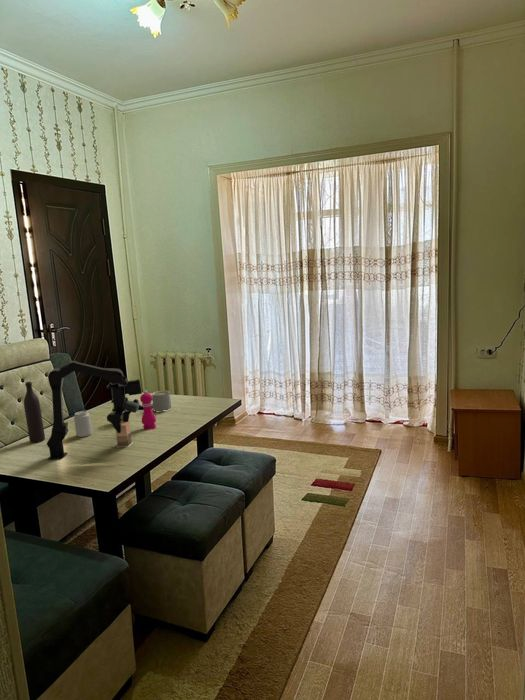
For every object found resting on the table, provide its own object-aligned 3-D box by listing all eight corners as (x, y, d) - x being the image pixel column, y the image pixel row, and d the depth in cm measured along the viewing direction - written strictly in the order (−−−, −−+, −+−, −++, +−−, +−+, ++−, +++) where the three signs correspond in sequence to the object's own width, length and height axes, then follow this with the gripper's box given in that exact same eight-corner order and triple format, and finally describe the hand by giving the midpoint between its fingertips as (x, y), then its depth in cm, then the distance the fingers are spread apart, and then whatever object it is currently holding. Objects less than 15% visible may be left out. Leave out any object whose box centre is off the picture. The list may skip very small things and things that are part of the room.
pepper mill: (142, 431, 247) (138, 393, 244) (142, 427, 254) (137, 389, 251) (157, 429, 249) (153, 391, 245) (156, 425, 256) (152, 387, 252)
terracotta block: (127, 435, 224) (125, 425, 223) (116, 436, 224) (114, 425, 223) (130, 432, 228) (129, 421, 228) (120, 432, 229) (118, 422, 228)
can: (87, 437, 244) (83, 414, 242) (73, 437, 245) (70, 414, 243) (95, 432, 251) (91, 410, 249) (81, 432, 253) (78, 410, 251)
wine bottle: (48, 438, 248) (39, 380, 242) (38, 443, 241) (29, 383, 236) (36, 437, 250) (27, 380, 244) (26, 442, 243) (17, 384, 238)
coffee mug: (174, 407, 287) (172, 390, 285) (166, 412, 277) (164, 395, 276) (154, 406, 291) (152, 390, 289) (145, 411, 282) (143, 395, 280)
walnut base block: (128, 446, 224) (127, 435, 224) (117, 446, 225) (116, 436, 224) (132, 442, 229) (130, 432, 228) (121, 442, 230) (120, 432, 229)
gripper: (129, 401, 213) (133, 435, 216) (142, 390, 232) (146, 422, 234) (104, 402, 214) (108, 437, 217) (119, 391, 233) (123, 423, 235)
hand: (123, 429), depth 226 cm, fingers open, 9 cm apart
